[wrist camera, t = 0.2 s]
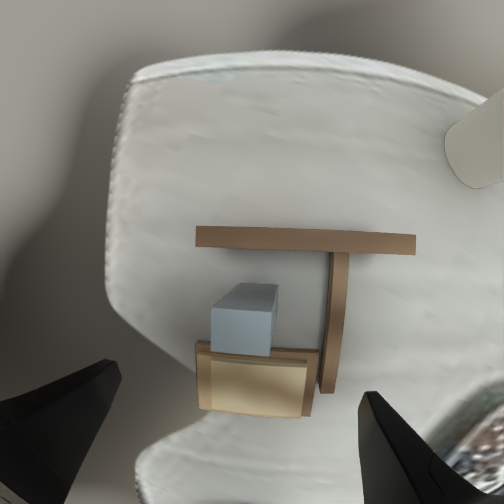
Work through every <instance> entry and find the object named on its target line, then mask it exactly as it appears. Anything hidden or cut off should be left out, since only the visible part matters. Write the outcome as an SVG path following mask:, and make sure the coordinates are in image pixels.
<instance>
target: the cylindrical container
mask: <svg viewBox="0 0 504 504" xmlns="http://www.w3.org/2000/svg"><path fill="white" fill-rule="evenodd" d="M444 144H445V152H446V157H447V160H448V162H449V165H450V167H451V169H452V170H453V172H454V173H455V175H456V176H457V177H458V179H459V180H460V181H461V182H463V183H464V184H465V185H467V186H468V187H471V188H474V189H479V188H483V187H486V186H490V185H493V184H497V183H500V182H504V87H503V88H502V89H501V90H500V91H498V92H497V93H495V94H494V95H493V96H492V97H490V98H489V99H488V100H486V101H485V102H484V103H482V104H481V105H480V106H478V107H477V108H476V109H474V110H473V111H472V112H470V113H469V114H468V115H466V116H465V117H464V118H462V119H461V120H460V121H458V122H457V123H456V124H454V125H453V126H452V127H451V128H449V130H448V131H447V133H446V136H445V143H444Z"/></svg>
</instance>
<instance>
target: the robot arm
mask: <svg viewBox="0 0 504 504" xmlns="http://www.w3.org/2000/svg"><path fill="white" fill-rule="evenodd" d="M121 380H122V377H121V373H120V370H119V367H118V364H117V362H116V361H115V360H112V359H109V358H106V359H103V360H101V361H99V362H97V363H95V364H92V365H90V366H88V367H86V368H83V369H81V370H79V371H77V372H74V373H72V374H70V375H67V376H65V377H63V378H60V379H58V380H56V381H54V382H51V383H49V384H46V385H44V386H42V387H39V388H37V389H34V390H32V391H30V392H27V393H24V394H22V395H19V396H16V397H13V398H10V399H6V400H3V401H0V504H64V502H65V499H66V497H67V495H68V493H69V491H70V488H71V486H72V484H73V482H74V479H75V478H76V475H77V473H78V471H79V469H80V467H81V465H82V463H83V461H84V459H85V457H86V455H87V453H88V451H89V449H90V447H91V445H92V443H93V441H94V439H95V437H96V435H97V433H98V431H99V429H100V427H101V426H102V424H103V422H104V420H105V418H106V416H107V414H108V412H109V410H110V408H111V405H112V403H113V400H114V398H115V395H116V393H117V390H118V388H119V385H120V383H121ZM358 446H359V457H360V465H361V474H362V483H363V494H364V504H504V496H503V495H490V494H487V493H484V492H482V491H480V490H479V489H477V488H476V487H475V486H473V485H472V484H471V483H469V482H468V481H467V480H465V479H464V478H463V477H462V476H460V475H459V474H458V473H457V472H455V471H454V470H453V469H452V468H451V467H450V466H449V465H447V464H446V463H445V462H444V461H443V460H442V459H441V458H440V457H439V456H438V455H437V454H436V453H435V452H433V450H432V448H431V447H430V446H429V445H428V444H427V443H426V442H425V441H424V440H423V439H422V438H421V437H420V436H419V435H418V434H417V433H416V432H415V431H414V430H413V429H412V428H411V427H410V425H409V424H408V423H407V422H406V421H405V420H404V419H403V418H402V417H401V416H400V415H399V414H398V413H397V412H396V411H395V410H394V409H393V408H392V407H391V406H390V404H389V403H388V402H387V401H386V400H385V399H384V398H383V397H382V396H381V395H380V394H379V393H378V392H377V391H366V392H365V393H364V395H363V397H362V400H361V402H360V405H359V407H358Z"/></svg>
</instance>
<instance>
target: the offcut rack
mask: <svg viewBox="0 0 504 504" xmlns="http://www.w3.org/2000/svg"><path fill="white" fill-rule="evenodd" d="M195 247H218V248H246V249H273V250H299V251H325V252H330V271H329V287H328V301H327V313H326V324H325V334H324V343H323V352H322V360H321V368H320V375H319V382H318V384H319V389H320V394H330V393H334V389H335V383H336V377H337V371H338V364H339V358H340V350H341V343H342V335H343V326H344V317H345V307H346V296H347V283H348V267H349V252H350V253H374V254H398V255H415V251H416V235H411V234H396V233H380V232H362V231H342V230H321V229H296V228H267V227H227V226H196V245H195ZM195 354H196V379H197V398H198V406H199V408H200V409H205V410H211V411H218V412H225V413H232V414H241V415H250V416H261V417H275V418H297V419H300V418H301V416H309V417H310V414H311V408H312V402H313V396H314V389H315V382H316V375H317V367H318V359H319V350H309V349H282V348H271V349H270V354H269V356H256V355H244V354H233V353H223V352H214V351H211V343H210V342H202V341H197V343H196V344H195Z"/></svg>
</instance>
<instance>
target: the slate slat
mask: <svg viewBox="0 0 504 504" xmlns="http://www.w3.org/2000/svg"><path fill="white" fill-rule="evenodd" d="M277 301H278V285H270V284H250V283H240V284H239V285H238V286H237V287H235V288H234V289H233V290H232V291H231V292H229V293H228V294H227V295H226V296H224V297H223V298H222V299H221V300H220V301H218V302H217V303H216V304H215V305H213V306H212V307H211V351H214V352H223V353H233V354H244V355H256V356H269V354H270V349H271V344H272V338H273V333H274V327H275V321H276V316H277Z"/></svg>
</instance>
